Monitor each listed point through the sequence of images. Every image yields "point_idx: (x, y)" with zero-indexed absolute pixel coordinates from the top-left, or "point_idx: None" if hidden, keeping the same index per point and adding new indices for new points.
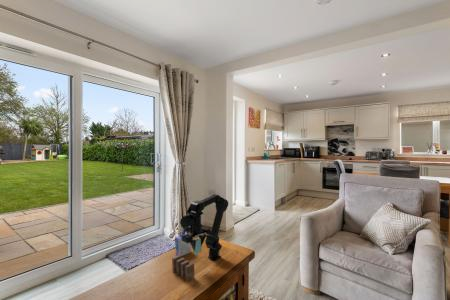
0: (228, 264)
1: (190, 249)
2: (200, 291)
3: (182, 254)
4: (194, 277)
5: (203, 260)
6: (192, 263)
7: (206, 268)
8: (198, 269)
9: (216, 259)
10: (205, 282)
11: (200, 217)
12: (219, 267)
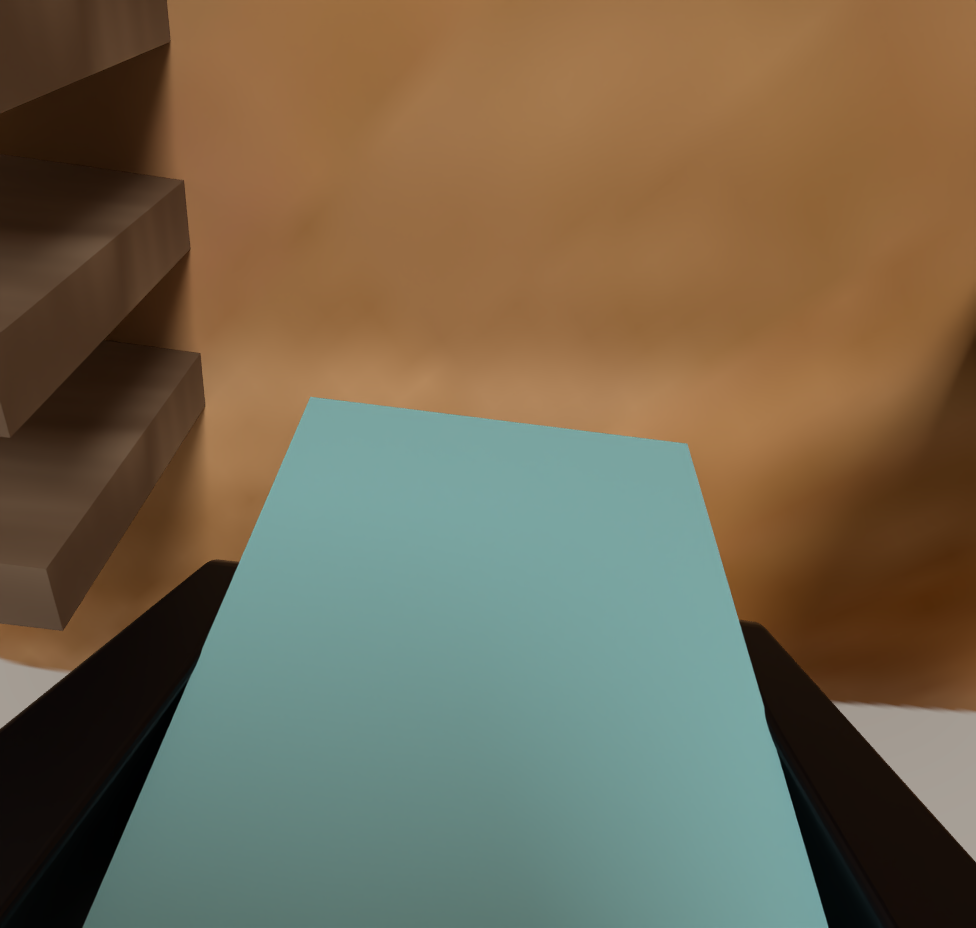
0: (925, 637)
1: None
2: (80, 661)
3: None
4: (202, 408)
5: (942, 73)
6: (30, 594)
7: (609, 399)
8: (475, 274)
9: None
10: None
11: None
12: (762, 571)
